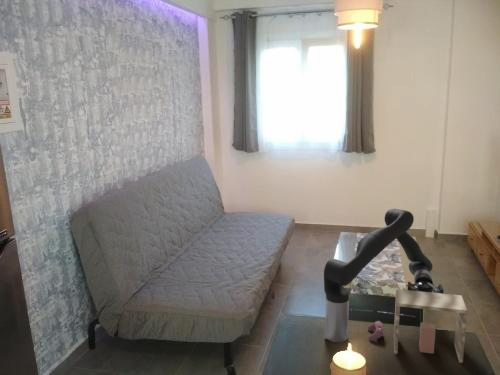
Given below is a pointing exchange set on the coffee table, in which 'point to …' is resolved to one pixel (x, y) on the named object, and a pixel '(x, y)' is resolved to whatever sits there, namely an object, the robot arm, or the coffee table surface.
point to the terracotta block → (427, 337)
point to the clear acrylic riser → (433, 303)
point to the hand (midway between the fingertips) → (426, 295)
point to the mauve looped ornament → (376, 330)
